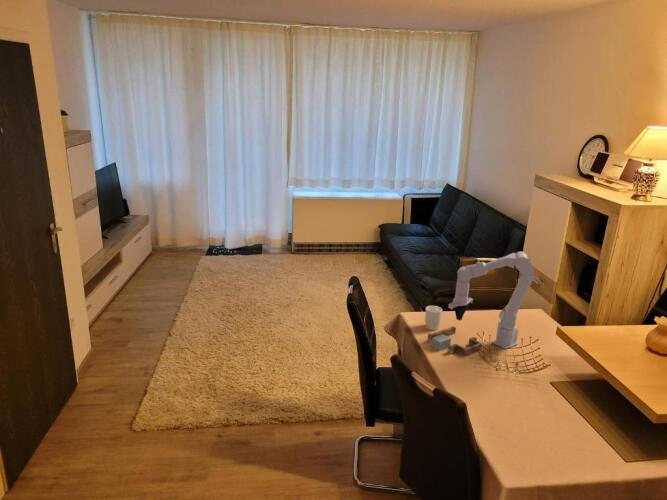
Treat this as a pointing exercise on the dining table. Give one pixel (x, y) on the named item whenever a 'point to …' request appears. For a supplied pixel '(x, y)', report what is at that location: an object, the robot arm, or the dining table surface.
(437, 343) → the block
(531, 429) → the dining table surface
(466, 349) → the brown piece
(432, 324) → the white cup
